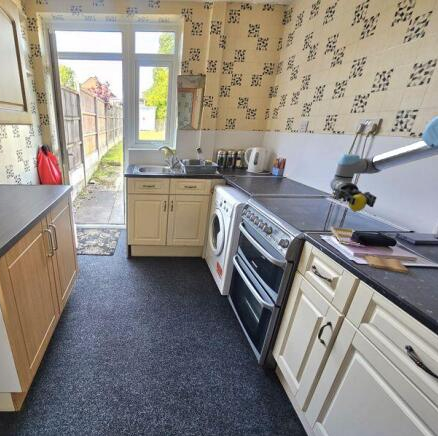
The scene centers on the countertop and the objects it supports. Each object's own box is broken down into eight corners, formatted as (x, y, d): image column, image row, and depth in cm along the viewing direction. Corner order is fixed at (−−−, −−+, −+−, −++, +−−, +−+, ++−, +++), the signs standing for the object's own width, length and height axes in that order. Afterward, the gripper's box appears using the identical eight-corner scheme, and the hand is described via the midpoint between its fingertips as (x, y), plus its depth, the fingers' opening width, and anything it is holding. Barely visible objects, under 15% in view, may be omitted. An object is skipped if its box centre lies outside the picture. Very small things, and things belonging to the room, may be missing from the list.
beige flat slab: (352, 232, 113) (353, 229, 112) (365, 247, 98) (366, 244, 98) (329, 228, 116) (330, 226, 115) (339, 243, 102) (340, 240, 101)
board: (396, 261, 88) (397, 259, 88) (407, 273, 82) (409, 270, 81) (362, 255, 92) (363, 253, 92) (370, 266, 85) (371, 263, 85)
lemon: (343, 210, 106) (349, 192, 103) (352, 209, 108) (358, 191, 105) (356, 214, 101) (363, 196, 98) (365, 213, 103) (372, 195, 100)
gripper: (367, 200, 116) (389, 215, 96) (321, 194, 123) (332, 208, 103) (373, 184, 113) (396, 196, 93) (325, 180, 120) (338, 190, 100)
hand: (363, 202), depth 98 cm, fingers closed on lemon, 5 cm apart
